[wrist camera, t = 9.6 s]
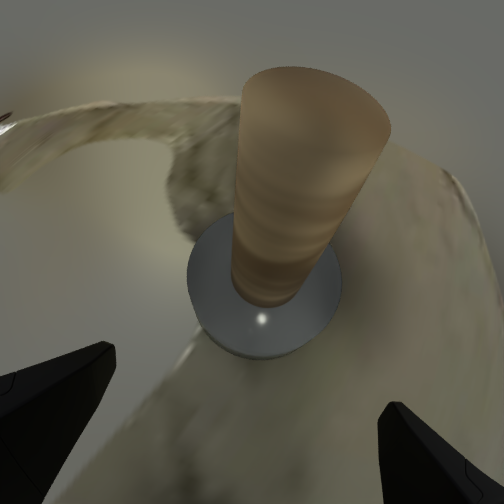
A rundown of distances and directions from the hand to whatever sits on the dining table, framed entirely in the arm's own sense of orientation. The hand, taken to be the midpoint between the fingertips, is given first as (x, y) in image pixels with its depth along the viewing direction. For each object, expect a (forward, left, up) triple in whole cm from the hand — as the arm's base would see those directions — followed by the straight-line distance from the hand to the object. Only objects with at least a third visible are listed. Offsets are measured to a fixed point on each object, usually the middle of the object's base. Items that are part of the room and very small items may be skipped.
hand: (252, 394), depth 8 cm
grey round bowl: (+4, +6, -12) cm, 14 cm away
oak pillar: (+4, +6, -8) cm, 11 cm away
